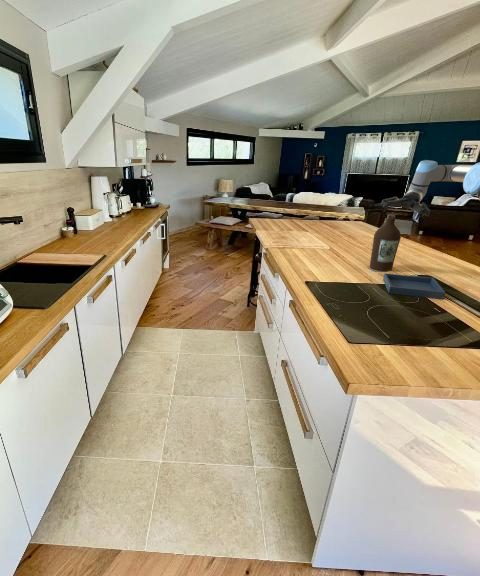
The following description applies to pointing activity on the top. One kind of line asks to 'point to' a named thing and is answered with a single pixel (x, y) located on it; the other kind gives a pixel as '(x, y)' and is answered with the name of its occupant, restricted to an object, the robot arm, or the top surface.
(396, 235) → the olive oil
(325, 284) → the top surface
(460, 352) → the top surface
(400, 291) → the tray
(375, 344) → the top surface
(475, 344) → the top surface
